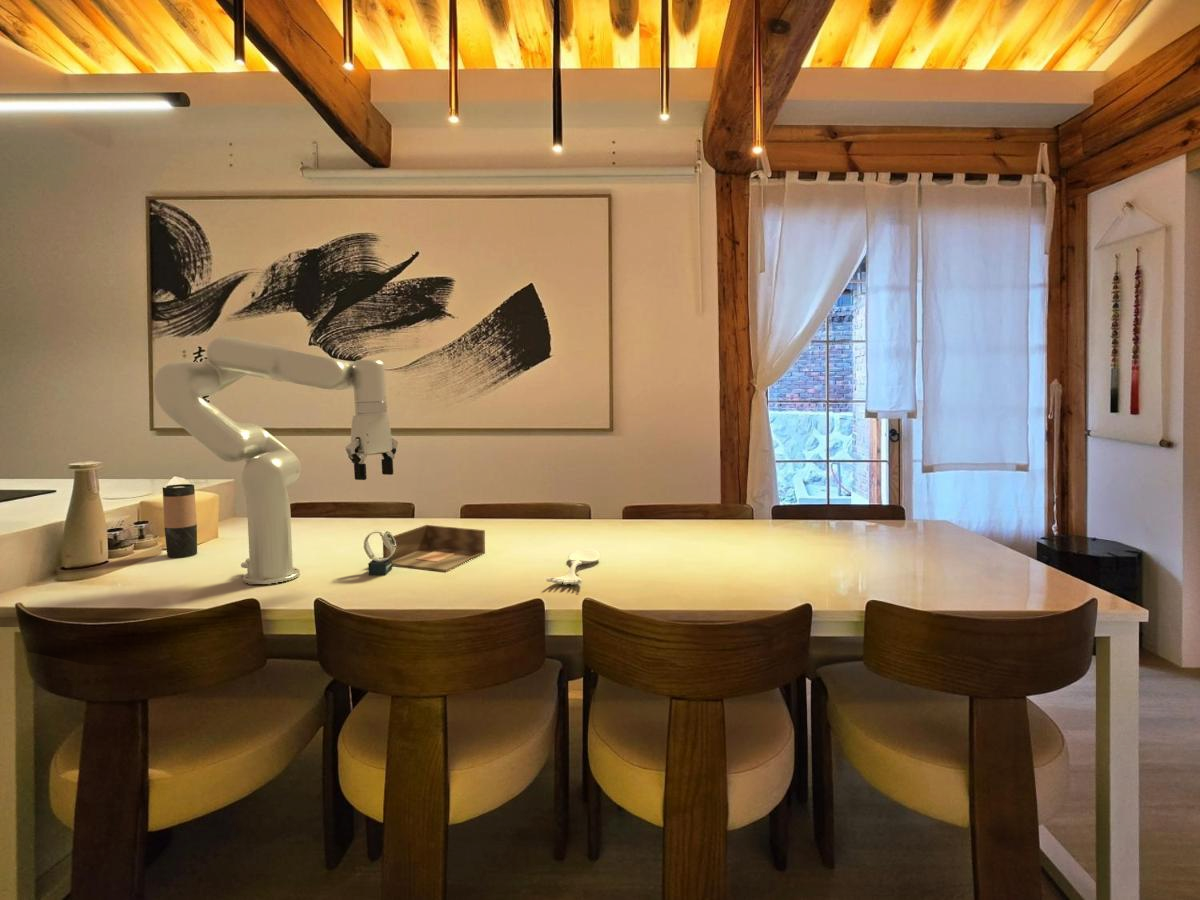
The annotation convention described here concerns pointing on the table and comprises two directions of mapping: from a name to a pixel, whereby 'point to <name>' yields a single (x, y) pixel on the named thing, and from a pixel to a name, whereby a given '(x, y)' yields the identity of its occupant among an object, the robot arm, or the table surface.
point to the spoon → (577, 559)
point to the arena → (436, 547)
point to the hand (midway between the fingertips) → (374, 476)
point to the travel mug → (180, 520)
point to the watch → (380, 564)
